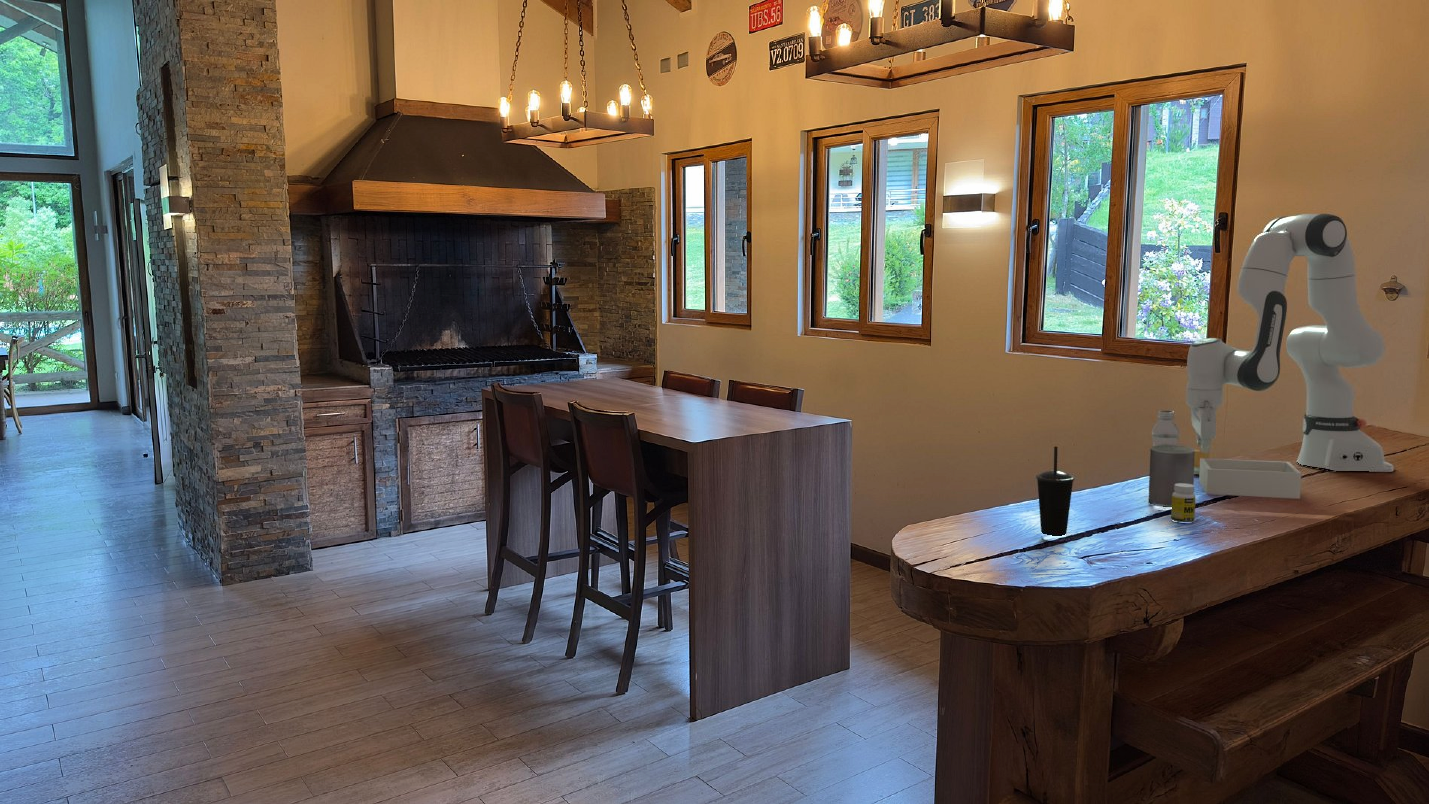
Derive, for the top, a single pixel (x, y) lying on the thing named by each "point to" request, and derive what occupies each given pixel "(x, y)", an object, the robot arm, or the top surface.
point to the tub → (1250, 478)
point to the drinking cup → (1054, 499)
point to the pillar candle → (1169, 471)
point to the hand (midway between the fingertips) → (1202, 448)
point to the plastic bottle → (1165, 429)
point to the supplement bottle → (1183, 503)
